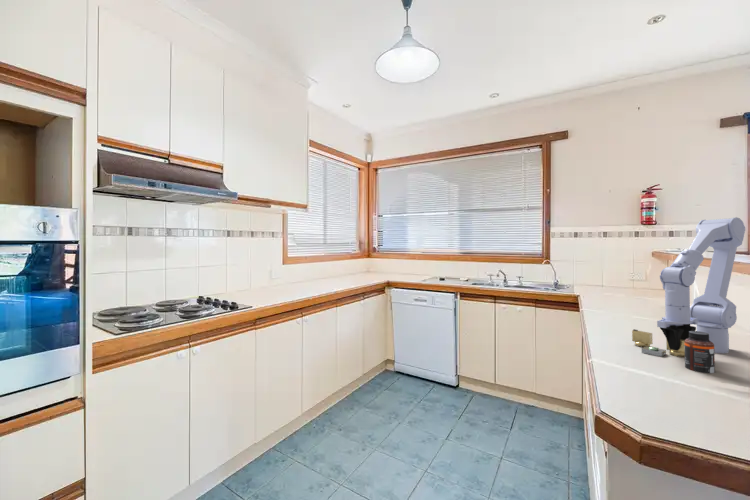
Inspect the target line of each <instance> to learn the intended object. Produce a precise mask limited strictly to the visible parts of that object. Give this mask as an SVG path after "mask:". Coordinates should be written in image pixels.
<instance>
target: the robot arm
mask: <svg viewBox="0 0 750 500" xmlns="http://www.w3.org/2000/svg"><path fill="white" fill-rule="evenodd" d="M745 232H746V227H745V223H744V221H743V220H742V219H741V218H739V217H737V216H736V217H731V218H717V219H701V220H699V222H698V223H697V224H696V226H695V234H696V235H695V237H694V238H693V240H692V242H691V244H690V245H689V248H688V249H683V250H682V251H681V252H680V253H679V254H678V255H677V256H676V258H675V259H674V261H672V263H671V265H670V266H666V267H665V268H663V269H662V270H661V271H660V275H659V280H660V282H661V284H662V289H663V290H664V299H665V300H664V305H665V306H664V308H665V309H664V310H665V311H664V312H665V316H662V317H661V319H659V320H657V321H656V324H657V325H656V326H657V328H659V329H660V330H661V331H662V333H663V335H664V336H665V339H667V342H668V345H669V348H670V349H673V350H679V347H680V339H682V340H685V339H687V338H689V337H690V336H689V331H700V332H706V333H708V334H709V340H710V341H711V342H713V343H714V354H729V351H730V333H729V329H730V328H732V327H733V326H734V325H735V324H736V322H737V318H738V317H737V305H735V303H734V302H732V301H731V300H730V299H728V298H727V296H728V291H729V286H730V282H731V277H732V272H733V268H734V263H735V259H736V255H737V254H736V253H737V250H738V247H740V246H743V245H742V244H743V242H744V237H745ZM709 248H712V249H713V253H712V257H711V262H710V266H709V270H708V275H707V279H706V284H705V288H704V293H703V294H702V295H699V296H698V297H697V296H696V297H695V298H693V301H692V304H691V298H690V297H691V295H690V293H691V291H690V290H691V289H690V286H692V285H693V284H694V282H695V279H696V275H697V270H698V268H699V266H701V264H702V263H703V261H704V256H703V254H704V253H705V252H706V250H707V249H709ZM693 325H695V326H693ZM667 342H666V343H667Z"/></svg>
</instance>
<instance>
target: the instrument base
mask: <svg viewBox="0 0 750 500" xmlns="http://www.w3.org/2000/svg"><path fill="white" fill-rule="evenodd" d="M666 350H667V349H661V348H659V347H657V346H650V347H647V346H646V347H641V354H646V355H650V356H656V357H662V358H663V356H666V355H667V351H666Z"/></svg>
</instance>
